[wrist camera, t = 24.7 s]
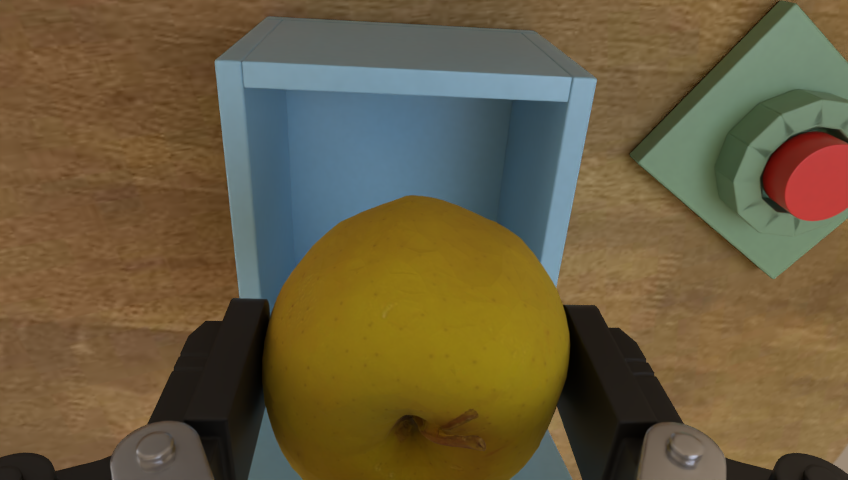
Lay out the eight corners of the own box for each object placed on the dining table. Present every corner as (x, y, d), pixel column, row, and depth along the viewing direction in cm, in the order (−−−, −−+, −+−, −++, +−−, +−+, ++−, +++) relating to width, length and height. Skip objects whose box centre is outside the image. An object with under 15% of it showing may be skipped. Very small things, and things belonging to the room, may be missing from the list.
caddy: (266, 15, 25) (213, 59, 17) (535, 30, 26) (598, 78, 18) (283, 286, 32) (250, 405, 24) (498, 290, 33) (533, 406, 25)
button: (746, 176, 27) (767, 191, 26) (813, 115, 26) (839, 127, 24) (791, 218, 28) (815, 236, 27) (857, 162, 27) (885, 176, 26)
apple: (535, 142, 15) (661, 338, 8) (513, 341, 18) (590, 606, 11) (282, 142, 15) (189, 348, 8) (303, 345, 18) (249, 622, 11)
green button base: (628, 154, 29) (652, 178, 26) (780, -1, 26) (824, 8, 23) (761, 268, 33) (793, 299, 30) (908, 144, 30) (958, 166, 27)
